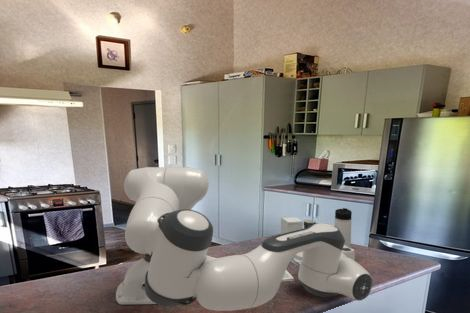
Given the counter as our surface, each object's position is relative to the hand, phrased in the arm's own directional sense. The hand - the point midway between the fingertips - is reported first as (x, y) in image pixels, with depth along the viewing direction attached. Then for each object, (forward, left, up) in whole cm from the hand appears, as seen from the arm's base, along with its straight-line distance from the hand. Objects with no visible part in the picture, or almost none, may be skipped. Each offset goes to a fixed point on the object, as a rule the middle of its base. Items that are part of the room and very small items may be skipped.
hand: (308, 245), depth 104 cm
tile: (-12, +4, -11) cm, 17 cm away
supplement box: (+6, +27, -11) cm, 30 cm away
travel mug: (+21, +11, -11) cm, 26 cm away
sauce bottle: (0, -1, -11) cm, 11 cm away
